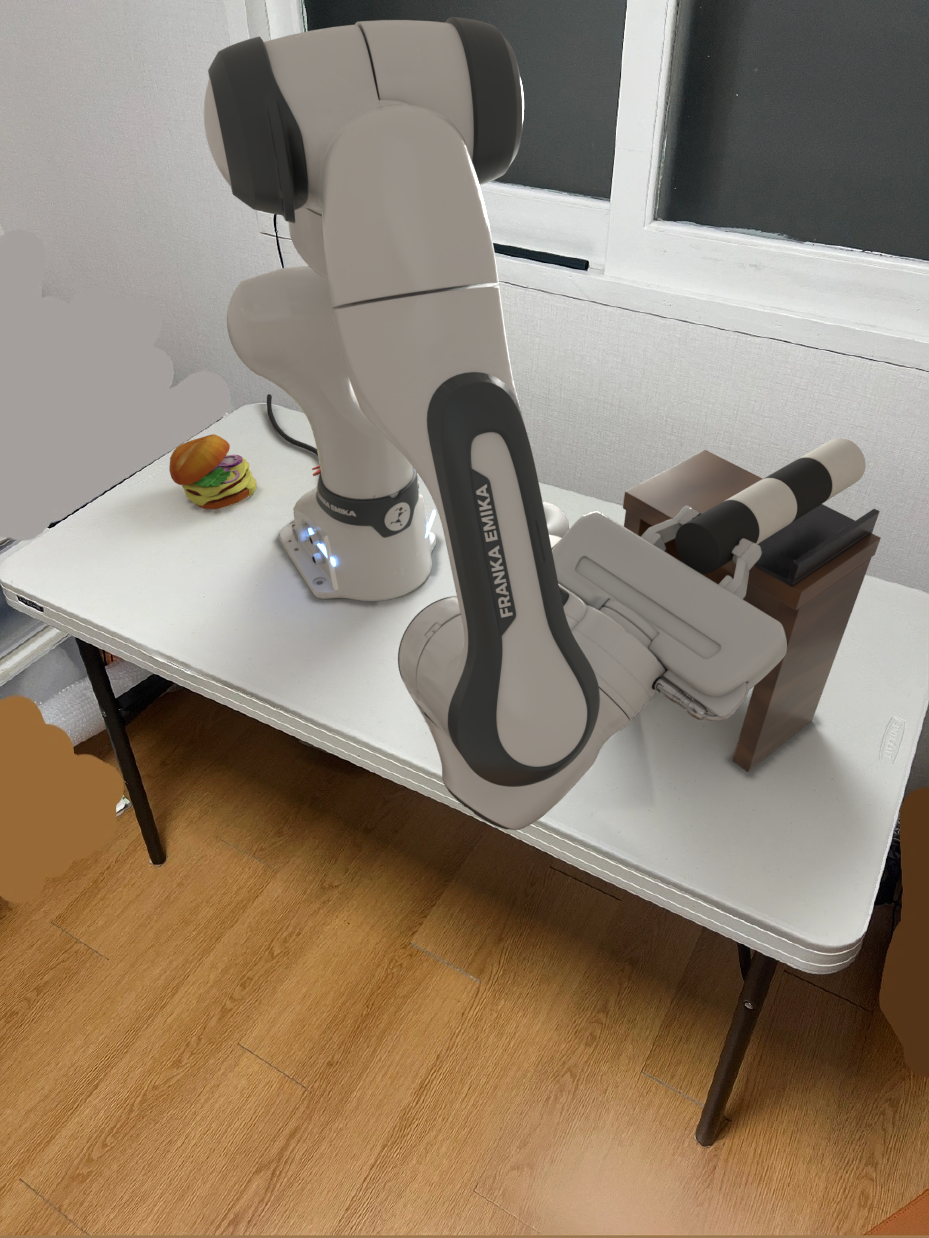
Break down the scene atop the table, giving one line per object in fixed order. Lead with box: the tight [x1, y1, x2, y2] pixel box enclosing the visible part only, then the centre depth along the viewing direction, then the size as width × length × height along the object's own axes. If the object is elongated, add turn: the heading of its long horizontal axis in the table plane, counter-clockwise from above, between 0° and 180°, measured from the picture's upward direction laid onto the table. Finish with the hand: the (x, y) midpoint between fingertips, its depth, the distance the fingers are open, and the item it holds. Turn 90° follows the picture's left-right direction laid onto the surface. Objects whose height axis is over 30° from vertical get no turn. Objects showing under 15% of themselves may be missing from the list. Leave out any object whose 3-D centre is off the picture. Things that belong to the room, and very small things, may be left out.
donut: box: [542, 500, 570, 538], centre depth 120 cm, size 10×4×10 cm
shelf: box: [622, 449, 882, 773], centre depth 91 cm, size 20×12×24 cm, turn 39°
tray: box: [754, 503, 881, 587], centre depth 80 cm, size 9×12×2 cm
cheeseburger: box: [169, 433, 257, 510], centre depth 127 cm, size 10×11×10 cm
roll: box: [675, 437, 866, 574], centre depth 75 cm, size 20×4×4 cm, turn 129°
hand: (723, 528), depth 72 cm, fingers closed on roll, 4 cm apart
